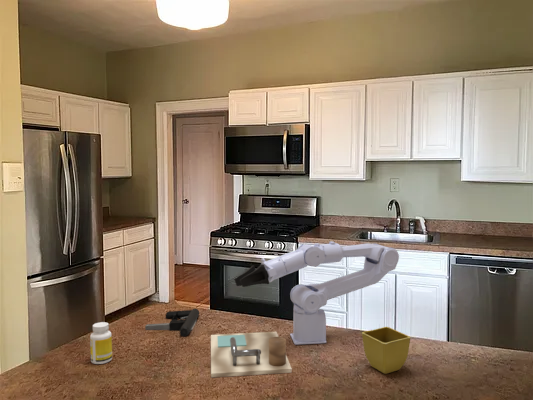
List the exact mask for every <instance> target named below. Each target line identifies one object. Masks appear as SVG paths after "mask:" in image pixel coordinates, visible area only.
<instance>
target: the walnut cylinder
mask: <svg viewBox="0 0 533 400" xmlns="http://www.w3.org/2000/svg"><path fill="white" fill-rule="evenodd" d="M286 356H287V339H286V338H285V337H283V336H278V337H272V338H270V339H269V364H270V365H272V366H283V365H285V364H286Z"/></svg>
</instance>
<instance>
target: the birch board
mask: <svg viewBox="0 0 533 400" xmlns="http://www.w3.org/2000/svg"><path fill="white" fill-rule="evenodd" d="M228 335H245V340H246V345H247V346H237V350H250V349H260V350H261V354H260V364H259V365H257V364H256V356H243V357H237V365H236V366H233V356H232V354H231V347H219V348H218V336H228ZM272 337H279V334H278V332H277V331H262V332H261V331H260V332H259V331H258V332H244V333H243V332H241V333H239V332H238V333H224V334H223V333H222V334H211V335H210V378H226V377H240V376H241V377H243V376H257V375H258V376H260V375H273V374H274V375H275V374H289V373H290V374H291V373H292V369H293V368H292V365H291V364H290V361H289V358H288V356H287V355H286V364H285V365H283V366H272V365H270V364H269V339H270V338H272Z"/></svg>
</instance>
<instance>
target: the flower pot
mask: <svg viewBox="0 0 533 400" xmlns="http://www.w3.org/2000/svg"><path fill="white" fill-rule="evenodd" d="M361 336H362V337H361V338H362V345H363V350H364V351H363V352H364V354H365V357H366V359H367V361H368V363H369V364H370V366H371V367H372V368H374V369H375V370H377V371H379V372H381V373H383V374H385V375H386V374H389V373H393V372H396V371H399V370H401V368H402V367H403V366H404V364H405V363H406V361H407V358H408V355H409V350H410V342H411V338H412V337H411V336H410V335H407V334H405V333H403V332H401V331H398V330H396V329H394V328H391V327H390V326H383V327H379V328H376V329H371V330H364V331H362V332H361Z"/></svg>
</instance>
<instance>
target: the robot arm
mask: <svg viewBox="0 0 533 400" xmlns="http://www.w3.org/2000/svg"><path fill="white" fill-rule="evenodd" d="M362 257H364V263H363V264H364V265H363V269H361V270H358V271H355V272H352V273H349V274H346V275H342V276H339V277H336V278H333V279H330V280H327V281H324V282H320V283H310V284H309V283H308V284H297V285H295V286H293V288H291V290H290V293H289V295H290V300H291V302H292V303H293V307H292V308H293V314H292V315H293V319H292V321H293V327H292V328H293V330H292V331H293V332H292V333H290V334H289V336H290V338H291V340H292V342H293V344H294V346H295V345H297V346H299V345H312V344H313V345H314V344H327V317H326V313H325V310H324V309H320V308H322V307H324V306H326V305H327V303H328V301H329V300H332V299H336V298H338V297H341V296H343V295H344V296H345V295H346V294H349V293H352V292H354V291H355V292H356V291H358V290H360V289H364V288H367V287H369V286H373V285H375V284H378V283H379V282H380V281H381V280H382V279H383V278H384V277H385V276H386V275H387V274H389V272H391V271H394V270H396V268H397V265H398V262H399V259H400V255H399V252H398V250H397V249H396V248H394V247H388V246H385V245H381V244H379V243H376V242H375V243H368V242H366V243H361V244H351V245H345V246H342V245H340V244H339V243H338V242H337V243H336V242H335V241H328V243H322V244H320V243H318V242H317V243H316V242H315V243H314V245H312V244H306V243H305V244H300V245H299V246H298V247H297V249H295V250H293V251H290V252H289V251H288V252H287V253H284V254H282V255H279V256H276V257H274V258H271V259H268V260H266V259H265V258H264V257H263V258H260V262H261V263H260V265H259V266H258V267H257V268H256V266H255V264H254V265H251V266H250V268H248V269H247V270H246V271H245V272H243V273H242V274H240V275H238V276H237V277H236V278H234V282H235V285H236V286H237V287H240V286H242V287H243V288H245V287H251V286H255V285H269V284H270V283H272V282H273V281H275V280H277V279H279V278H282V277H284V276H287V275H289V274H292V273H294V272H297V271H300V270H302V269H304V268H306V267H314V268H316V267H319V266H320V265H323V264H331V263H332V264H333V263H340V262H341V261H342V260H343V258H362Z"/></svg>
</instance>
